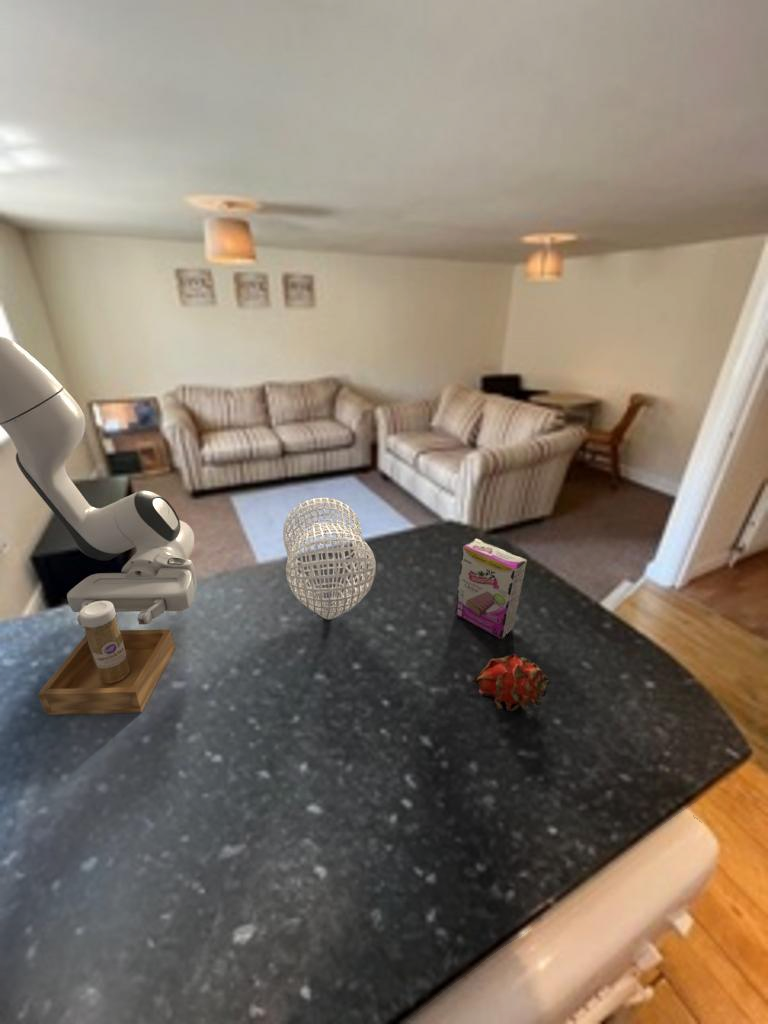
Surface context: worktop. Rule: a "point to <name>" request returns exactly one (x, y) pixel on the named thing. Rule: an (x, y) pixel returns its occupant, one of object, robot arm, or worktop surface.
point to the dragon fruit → (512, 682)
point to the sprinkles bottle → (105, 641)
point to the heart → (357, 546)
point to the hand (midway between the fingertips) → (112, 621)
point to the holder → (86, 694)
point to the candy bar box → (489, 587)
